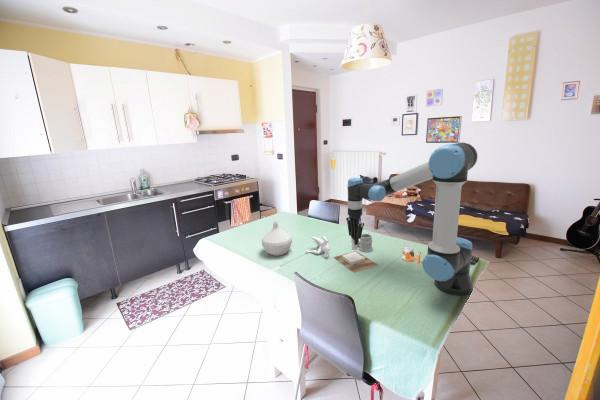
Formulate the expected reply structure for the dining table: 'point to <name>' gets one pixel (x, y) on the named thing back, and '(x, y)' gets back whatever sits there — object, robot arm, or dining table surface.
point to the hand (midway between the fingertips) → (354, 249)
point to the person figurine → (321, 246)
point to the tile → (353, 258)
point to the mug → (365, 243)
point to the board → (358, 266)
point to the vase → (276, 241)
